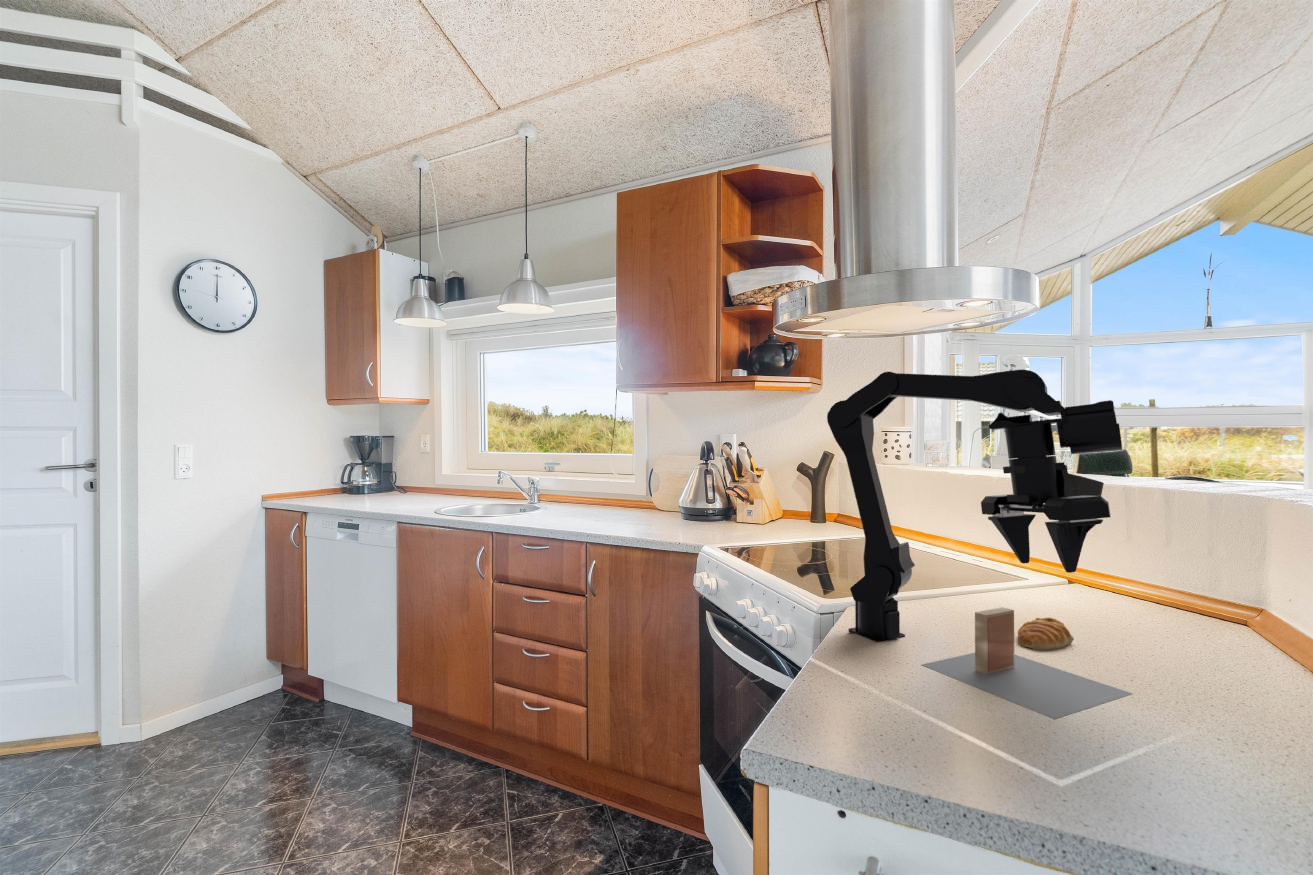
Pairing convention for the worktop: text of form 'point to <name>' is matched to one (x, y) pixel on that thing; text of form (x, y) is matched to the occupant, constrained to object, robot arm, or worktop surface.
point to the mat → (1032, 685)
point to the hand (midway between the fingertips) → (1046, 567)
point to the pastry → (1044, 634)
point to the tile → (994, 640)
